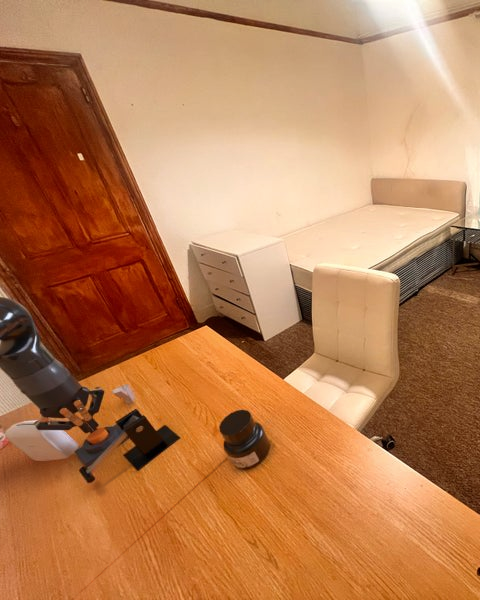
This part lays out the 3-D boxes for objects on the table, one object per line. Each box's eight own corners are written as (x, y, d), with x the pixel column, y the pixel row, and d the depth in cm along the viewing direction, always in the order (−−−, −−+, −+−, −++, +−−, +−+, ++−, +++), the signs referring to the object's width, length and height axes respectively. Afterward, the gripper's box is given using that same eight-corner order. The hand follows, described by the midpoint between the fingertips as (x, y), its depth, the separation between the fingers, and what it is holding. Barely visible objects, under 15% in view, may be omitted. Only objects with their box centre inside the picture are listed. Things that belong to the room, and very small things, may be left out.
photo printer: (31, 463, 78) (-6, 433, 72) (47, 447, 82) (13, 417, 76) (69, 461, 78) (36, 431, 72) (84, 445, 82) (53, 415, 75)
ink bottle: (223, 463, 75) (203, 432, 69) (249, 432, 82) (233, 402, 75) (254, 475, 72) (237, 444, 65) (279, 442, 79) (265, 411, 72)
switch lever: (93, 484, 68) (82, 482, 66) (85, 473, 70) (74, 470, 69) (148, 424, 75) (139, 421, 73) (138, 416, 77) (130, 412, 75)
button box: (89, 469, 76) (79, 460, 74) (79, 456, 79) (69, 447, 77) (135, 437, 83) (127, 428, 81) (124, 426, 86) (116, 417, 84)
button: (94, 447, 77) (89, 442, 76) (88, 440, 79) (84, 436, 78) (111, 435, 80) (107, 431, 79) (105, 429, 81) (101, 425, 80)
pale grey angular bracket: (128, 396, 96) (114, 378, 92) (135, 393, 97) (121, 375, 93) (127, 411, 91) (111, 392, 87) (134, 408, 92) (119, 389, 87)
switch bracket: (139, 473, 74) (112, 443, 68) (125, 457, 78) (98, 428, 72) (181, 439, 81) (160, 410, 75) (167, 427, 85) (145, 398, 79)
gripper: (78, 358, 75) (117, 405, 84) (0, 396, 66) (54, 445, 75) (89, 368, 71) (129, 416, 80) (8, 409, 62) (64, 459, 71)
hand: (93, 430), depth 78 cm, fingers closed
